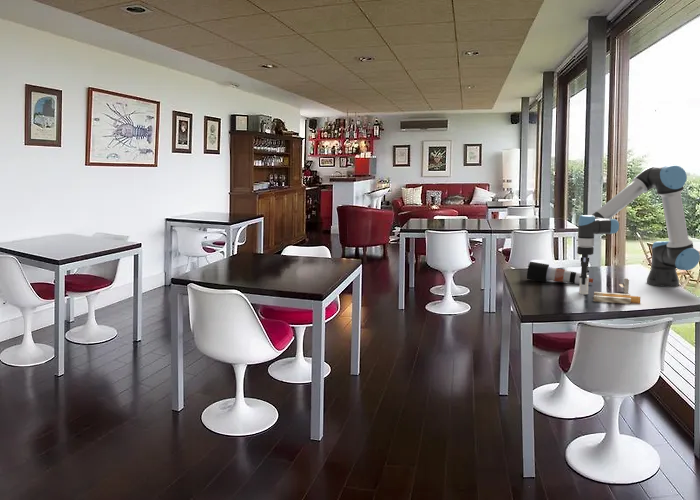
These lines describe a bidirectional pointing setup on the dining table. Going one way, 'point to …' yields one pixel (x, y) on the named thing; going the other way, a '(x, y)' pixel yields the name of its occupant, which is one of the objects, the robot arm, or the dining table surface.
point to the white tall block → (586, 286)
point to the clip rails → (611, 298)
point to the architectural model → (625, 285)
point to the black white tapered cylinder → (552, 274)
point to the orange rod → (633, 298)
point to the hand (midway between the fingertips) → (583, 287)
